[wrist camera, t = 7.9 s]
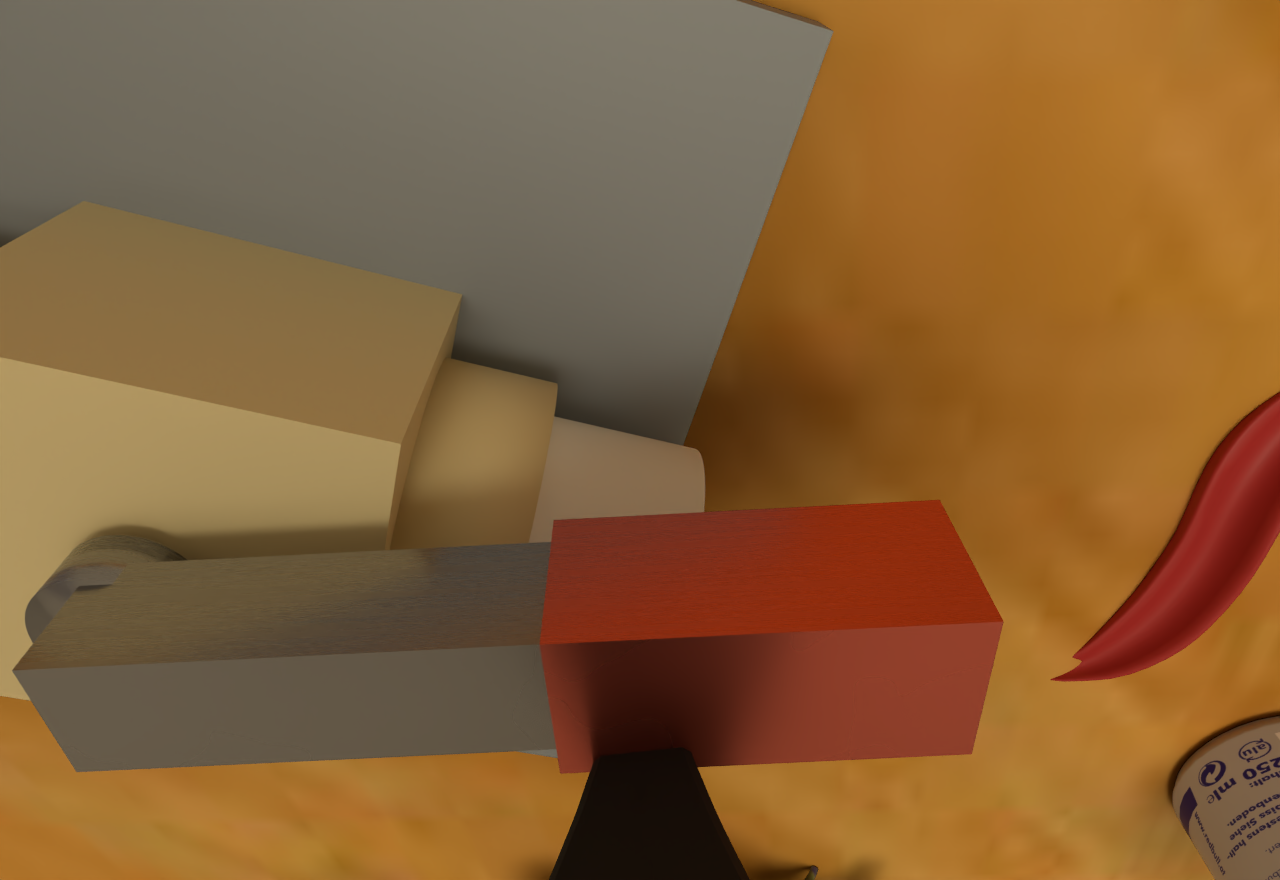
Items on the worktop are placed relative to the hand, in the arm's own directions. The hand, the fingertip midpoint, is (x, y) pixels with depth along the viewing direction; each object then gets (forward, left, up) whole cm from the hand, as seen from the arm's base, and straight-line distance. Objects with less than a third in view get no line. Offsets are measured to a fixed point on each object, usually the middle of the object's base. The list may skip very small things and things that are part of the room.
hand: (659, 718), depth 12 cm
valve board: (-8, 0, -7) cm, 11 cm away
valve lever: (-3, +1, -1) cm, 3 cm away
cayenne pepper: (+14, +1, -8) cm, 16 cm away
